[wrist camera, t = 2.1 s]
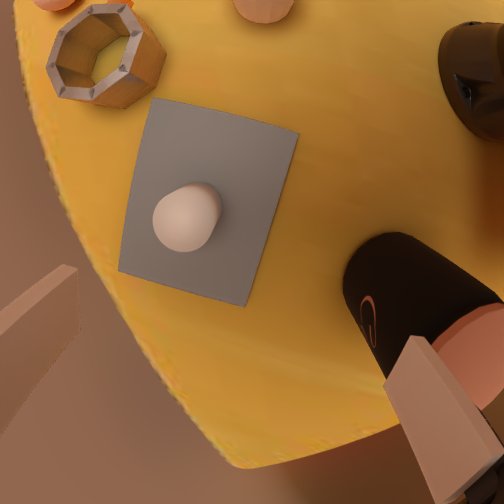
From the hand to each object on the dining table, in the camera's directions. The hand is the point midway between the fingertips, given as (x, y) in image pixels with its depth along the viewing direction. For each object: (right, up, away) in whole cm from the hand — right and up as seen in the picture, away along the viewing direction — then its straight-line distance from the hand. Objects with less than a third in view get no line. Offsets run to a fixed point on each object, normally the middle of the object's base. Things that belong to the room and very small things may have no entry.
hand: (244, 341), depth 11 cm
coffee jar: (+15, +1, +21) cm, 26 cm away
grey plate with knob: (-5, +8, +19) cm, 21 cm away
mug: (-13, +22, +14) cm, 29 cm away
